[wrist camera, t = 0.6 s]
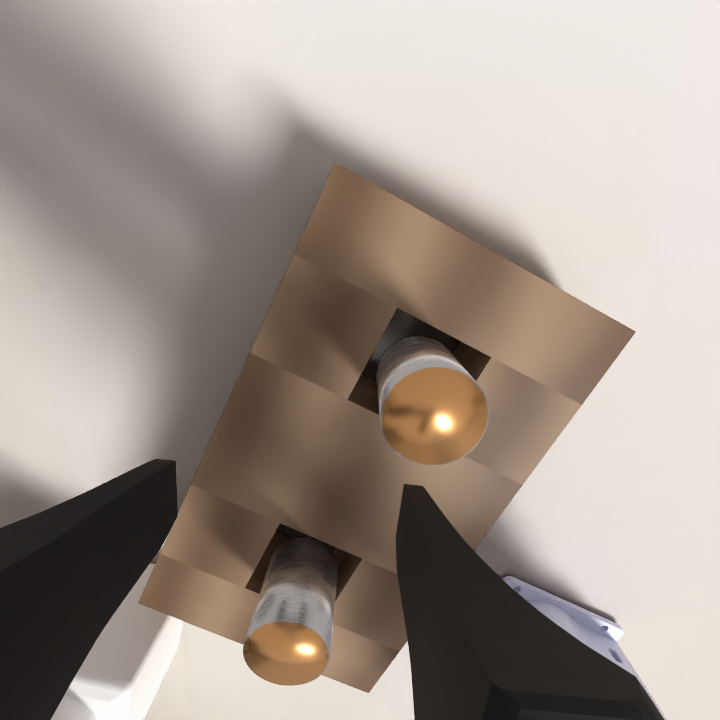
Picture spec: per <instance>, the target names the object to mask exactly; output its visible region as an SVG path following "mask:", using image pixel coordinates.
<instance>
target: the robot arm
mask: <svg viewBox="0 0 720 720" xmlns="http://www.w3.org/2000/svg"><path fill="white" fill-rule="evenodd" d="M177 516H178V513H177V486H176V461H172V460H162V459H155V460H152V461H150V462H147V463H145V464H143V465H141V466H139V467H137V468H135V469H132V470H130V471H128V472H126V473H124V474H122V475H120V476H118V477H116V478H114V479H112V480H110V481H108V482H106V483H104V484H102V485H100V486H98V487H96V488H94V489H92V490H89V491H87V492H85V493H83V494H81V495H79V496H76V497H74V498H72V499H70V500H67V501H65V502H63V503H61V504H59V505H56V506H54V507H52V508H50V509H47V510H45V511H43V512H40V513H38V514H36V515H33V516H31V517H28V518H26V519H23V520H20V521H18V522H15V523H12V524H10V525H7V526H4V527H2V528H0V720H51V718H52V716H53V715H54V713H55V711H56V709H57V708H58V706H59V704H60V702H61V700H62V699H63V697H64V695H65V693H66V692H67V690H68V688H69V686H70V684H71V683H72V681H73V679H74V677H75V676H76V674H77V672H78V671H79V669H80V667H81V665H82V664H83V662H84V660H85V659H86V657H87V655H88V654H89V652H90V650H91V649H92V647H93V645H94V643H95V642H96V640H97V638H98V637H99V635H100V634H101V632H102V631H103V629H104V628H105V626H106V625H107V623H108V622H109V620H110V619H111V617H112V616H113V615H114V613H115V612H116V610H117V609H118V607H119V606H120V605H121V603H122V602H123V600H124V599H125V598H126V596H127V595H128V593H129V592H130V591H131V589H132V588H133V586H134V585H135V584H136V582H137V581H138V579H139V578H140V577H141V575H142V574H143V572H144V571H145V570H146V568H147V567H148V565H149V564H150V562H151V561H152V560H153V558H154V557H155V555H156V554H157V552H158V551H159V549H160V548H161V546H162V545H163V543H164V541H165V539H166V537H167V536H168V534H169V532H170V530H171V528H172V526H173V524H174V522H175V520H176V518H177ZM395 540H396V564H397V575H398V582H399V588H400V595H401V601H402V608H403V614H404V620H405V627H406V633H407V639H408V646H409V653H410V662H411V672H412V686H413V700H414V715H415V720H667V719H666V718H665V716H664V715H663V713H662V712H661V710H660V709H659V707H658V705H657V704H656V702H655V701H654V699H653V698H652V696H651V695H650V693H649V692H648V690H647V688H646V687H645V685H644V684H643V682H642V681H641V679H640V678H639V676H638V675H637V673H636V671H635V670H634V668H633V667H632V665H631V664H630V662H629V661H628V659H627V658H626V656H625V654H624V653H623V651H622V650H621V648H620V647H619V645H618V644H617V641H618V640H619V639H620V638H621V637H622V635H623V632H624V631H623V629H622V628H621V627H620V625H618V624H617V623H614V622H612V621H610V620H608V619H606V618H603V617H601V616H599V615H597V614H594V613H592V612H590V611H588V610H586V609H583V608H581V607H579V606H577V605H575V604H572V603H570V602H568V601H566V600H563V599H561V598H559V597H557V596H555V595H552V594H550V593H548V592H546V591H543V590H541V589H539V588H537V587H535V586H532V585H530V584H528V583H526V582H523V581H521V580H519V579H517V578H515V577H512V576H506V577H504V578H503V579H501V578H500V577H499V576H498V575H497V574H496V573H495V572H494V571H493V570H492V569H491V568H490V567H489V566H488V565H487V564H486V563H485V562H484V561H483V560H482V559H481V558H480V557H479V556H478V555H477V554H476V553H475V551H474V550H473V549H472V548H471V547H470V546H469V545H468V544H467V543H466V541H465V540H464V539H463V538H462V537H461V535H460V534H459V533H458V532H457V530H456V529H455V528H454V527H453V525H452V524H451V523H450V522H449V520H448V519H447V518H446V516H445V515H444V514H443V512H442V511H441V510H440V508H439V507H438V506H437V504H436V503H435V501H434V500H433V499H432V497H431V496H430V494H429V493H428V492H427V490H426V489H425V488H424V486H420V485H410V484H404V486H403V492H402V499H401V505H400V512H399V518H398V524H397V531H396V537H395ZM516 586H517V587H516Z"/></svg>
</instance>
